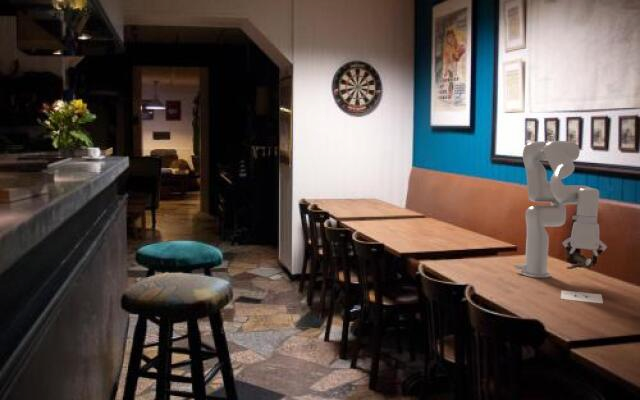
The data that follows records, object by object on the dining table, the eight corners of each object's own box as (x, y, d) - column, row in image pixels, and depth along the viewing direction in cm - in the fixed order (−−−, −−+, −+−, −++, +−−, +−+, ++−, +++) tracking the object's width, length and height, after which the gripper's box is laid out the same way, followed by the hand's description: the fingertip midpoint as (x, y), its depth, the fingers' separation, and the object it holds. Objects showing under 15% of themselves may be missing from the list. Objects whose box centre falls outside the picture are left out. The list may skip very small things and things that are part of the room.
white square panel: (560, 298, 246) (560, 298, 246) (561, 290, 258) (561, 290, 258) (602, 303, 240) (602, 303, 240) (601, 294, 253) (601, 294, 253)
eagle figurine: (589, 264, 253) (566, 258, 255) (594, 252, 248) (571, 246, 250) (588, 278, 248) (564, 271, 250) (594, 266, 243) (569, 259, 245)
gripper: (562, 219, 246) (558, 263, 248) (611, 223, 239) (607, 268, 242) (562, 216, 253) (559, 260, 255) (610, 220, 246) (606, 264, 249)
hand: (582, 264), depth 248 cm, fingers closed on eagle figurine, 7 cm apart
